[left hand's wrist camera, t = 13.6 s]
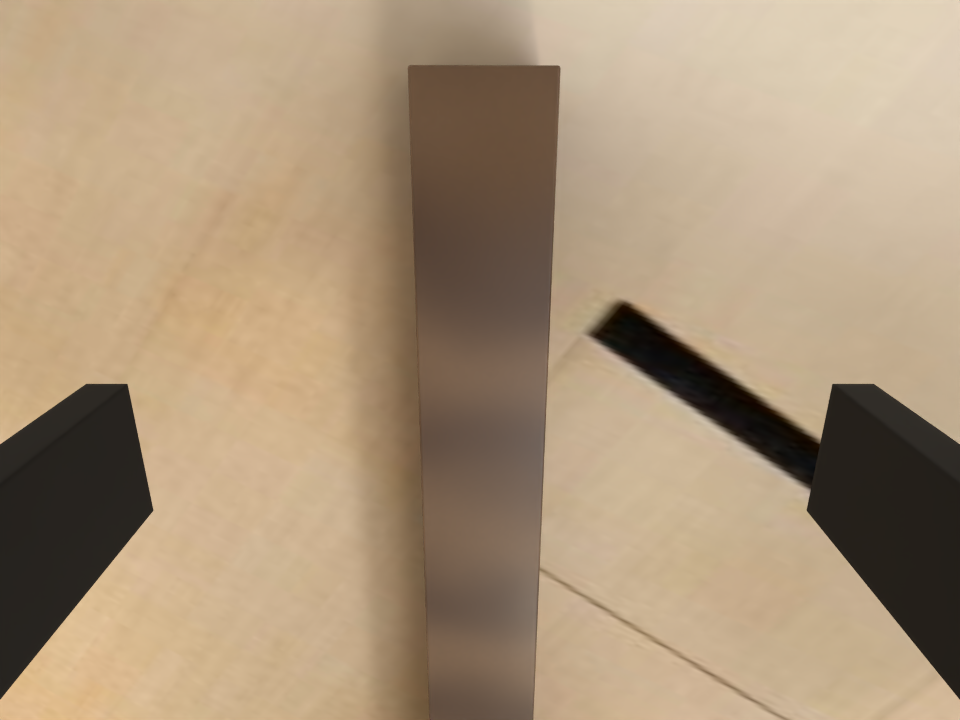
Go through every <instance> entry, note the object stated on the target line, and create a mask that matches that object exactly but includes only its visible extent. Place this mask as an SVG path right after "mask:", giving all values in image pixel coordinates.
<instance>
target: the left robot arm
mask: <svg viewBox="0 0 960 720" xmlns="http://www.w3.org/2000/svg"><path fill="white" fill-rule="evenodd" d="M152 512H153V507H152V502H151V497H150V492H149V487H148V482H147V477H146V472H145V468H144V463H143V458H142V453H141V448H140V443H139V438H138V433H137V428H136V424H135V419H134V414H133V409H132V404H131V399H130V394H129V389H128V384H86V385H84V386H83V387H81V388H80V389H78V390H77V391H76V392H74V393H73V394H71V395H70V396H69V397H67V398H66V399H64V400H63V401H61V402H60V403H59V404H57V405H56V406H54V407H53V408H51V409H50V410H49V411H47V412H46V413H44V414H43V415H41V416H40V417H39V418H37V419H36V420H34V421H33V422H31V423H30V424H29V425H27V426H26V427H24V428H23V429H22V430H20V431H19V432H17V433H16V434H14V435H13V436H12V437H10V438H9V439H7V440H6V441H4V442H3V443H2V444H0V699H1V698H2V697H3V695H4V694H5V693H6V692H7V690H8V689H9V688H10V687H11V685H12V684H13V683H14V682H15V681H16V679H17V678H18V677H19V676H20V674H21V673H22V672H23V671H24V669H25V668H26V667H27V666H28V665H29V663H30V662H31V661H32V660H33V658H34V657H35V656H36V655H37V653H38V652H39V651H40V650H41V648H42V647H43V646H44V645H45V644H46V642H47V641H48V640H49V639H50V637H51V636H52V635H53V634H54V632H55V631H56V630H57V629H58V628H59V626H60V625H61V624H62V623H63V621H64V620H65V619H66V618H67V616H68V615H69V614H70V613H71V611H72V610H73V609H74V608H75V607H76V605H77V604H78V603H79V602H80V600H81V599H82V598H83V597H84V595H85V594H86V593H87V592H88V591H89V589H90V588H91V587H92V586H93V584H94V583H95V582H96V581H97V579H98V578H99V577H100V576H101V574H102V573H103V572H104V571H105V570H106V568H107V567H108V566H109V565H110V563H111V562H112V561H113V560H114V558H115V557H116V556H117V555H118V553H119V552H120V551H121V550H122V549H123V547H124V546H125V545H126V544H127V542H128V541H129V540H130V539H131V537H132V536H133V535H134V534H135V533H136V531H137V530H138V529H139V528H140V526H141V525H142V524H143V523H144V521H145V520H146V519H147V518H148V516H149V515H150V514H151V513H152ZM807 512H808V513H809V514H810V515H811V516H812V518H813V519H814V520H815V521H816V523H817V524H818V525H819V526H820V528H821V529H822V530H823V531H824V533H825V534H826V535H827V536H828V537H829V539H830V540H831V541H832V542H833V544H834V545H835V546H836V547H837V549H838V550H839V551H840V552H841V553H842V555H843V556H844V557H845V558H846V560H847V561H848V562H849V563H850V565H851V566H852V567H853V568H854V570H855V571H856V572H857V573H858V574H859V576H860V577H861V578H862V579H863V581H864V582H865V583H866V584H867V586H868V587H869V588H870V589H871V591H872V592H873V593H874V594H875V595H876V597H877V598H878V599H879V600H880V602H881V603H882V604H883V605H884V607H885V608H886V609H887V610H888V611H889V613H890V614H891V615H892V616H893V618H894V619H895V620H896V621H897V623H898V624H899V625H900V626H901V628H902V629H903V630H904V631H905V632H906V634H907V635H908V636H909V637H910V639H911V640H912V641H913V642H914V644H915V645H916V646H917V647H918V648H919V650H920V651H921V652H922V653H923V655H924V656H925V657H926V658H927V660H928V661H929V662H930V663H931V665H932V666H933V667H934V668H935V669H936V671H937V672H938V673H939V674H940V676H941V677H942V678H943V679H944V681H945V682H946V683H947V684H948V685H949V687H950V688H951V689H952V690H953V692H954V693H955V694H956V695H957V697H958V698H959V699H960V444H958V443H957V442H956V441H954V440H953V439H951V438H950V437H948V436H947V435H946V434H944V433H943V432H941V431H940V430H938V429H937V428H936V427H934V426H933V425H931V424H930V423H929V422H927V421H926V420H924V419H923V418H921V417H920V416H919V415H917V414H916V413H914V412H913V411H911V410H910V409H909V408H907V407H906V406H904V405H903V404H901V403H900V402H899V401H897V400H896V399H894V398H893V397H891V396H890V395H889V394H887V393H886V392H884V391H883V390H882V389H880V388H879V387H877V386H876V385H874V384H832V389H831V394H830V399H829V404H828V409H827V414H826V419H825V424H824V428H823V433H822V438H821V443H820V448H819V453H818V458H817V463H816V468H815V472H814V477H813V482H812V487H811V492H810V497H809V502H808V507H807Z"/></svg>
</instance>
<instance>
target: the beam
mask: <svg viewBox="0 0 960 720" xmlns="http://www.w3.org/2000/svg"><path fill="white" fill-rule="evenodd" d="M408 86H409V116H410V146H411V176H412V206H413V237H414V267H415V297H416V327H417V357H418V387H419V418H420V448H421V478H422V508H423V538H424V568H425V599H426V629H427V659H428V689H429V719H430V720H533V712H534V688H535V664H536V640H537V616H538V592H539V568H540V544H541V520H542V496H543V473H544V449H545V425H546V401H547V377H548V353H549V329H550V305H551V281H552V257H553V233H554V210H555V186H556V162H557V138H558V114H559V90H560V66H519V65H410V66H408Z"/></svg>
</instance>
